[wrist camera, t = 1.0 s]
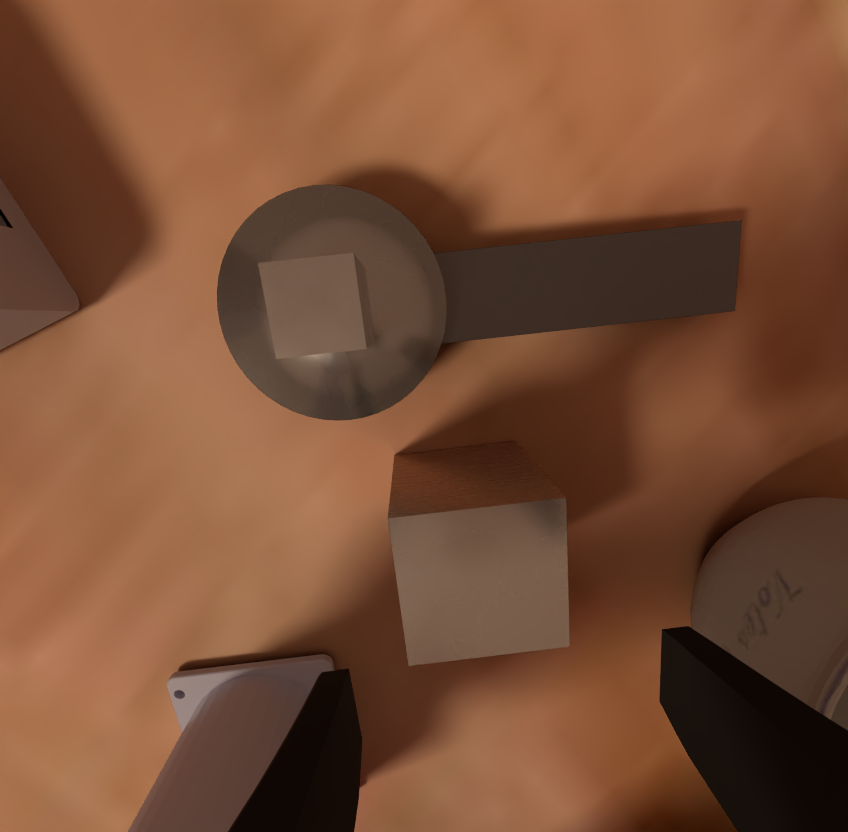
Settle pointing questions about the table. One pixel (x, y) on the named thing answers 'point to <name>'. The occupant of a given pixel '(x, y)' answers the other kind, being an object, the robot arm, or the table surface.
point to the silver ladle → (431, 294)
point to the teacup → (783, 599)
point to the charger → (28, 278)
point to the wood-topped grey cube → (478, 553)
